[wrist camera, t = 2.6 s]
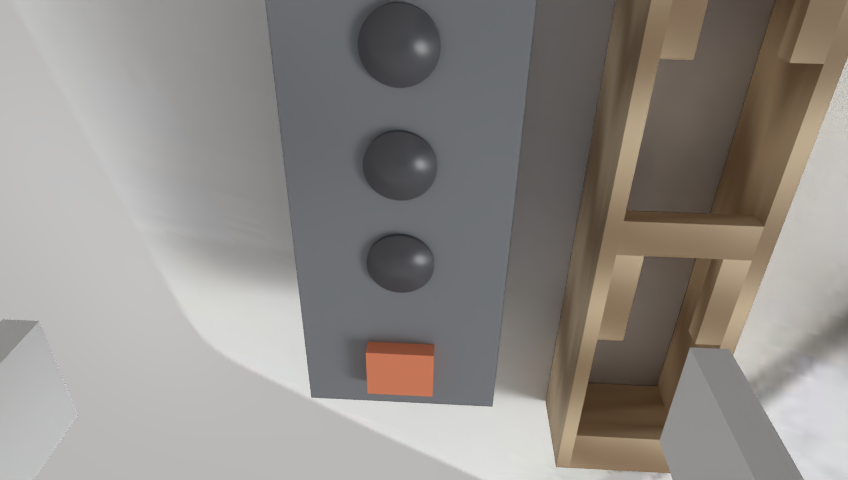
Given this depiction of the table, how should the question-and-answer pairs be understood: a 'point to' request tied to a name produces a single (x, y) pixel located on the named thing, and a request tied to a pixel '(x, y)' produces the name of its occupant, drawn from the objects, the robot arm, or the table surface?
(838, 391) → the table surface
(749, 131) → the keyhole rail
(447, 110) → the power strip
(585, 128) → the table surface
